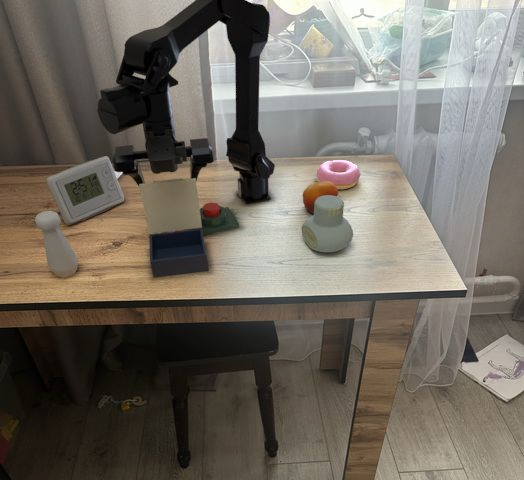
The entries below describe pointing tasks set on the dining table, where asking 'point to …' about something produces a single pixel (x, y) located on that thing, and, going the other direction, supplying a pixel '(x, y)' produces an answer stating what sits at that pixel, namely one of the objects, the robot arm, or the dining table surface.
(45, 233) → the salt shaker
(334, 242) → the air freshener
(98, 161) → the digital clock
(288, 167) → the dining table surface
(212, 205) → the alarm button
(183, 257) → the dark rimmed tray
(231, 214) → the alarm box
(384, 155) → the dining table surface
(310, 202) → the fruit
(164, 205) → the beige panel
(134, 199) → the dining table surface
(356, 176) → the doughnut
